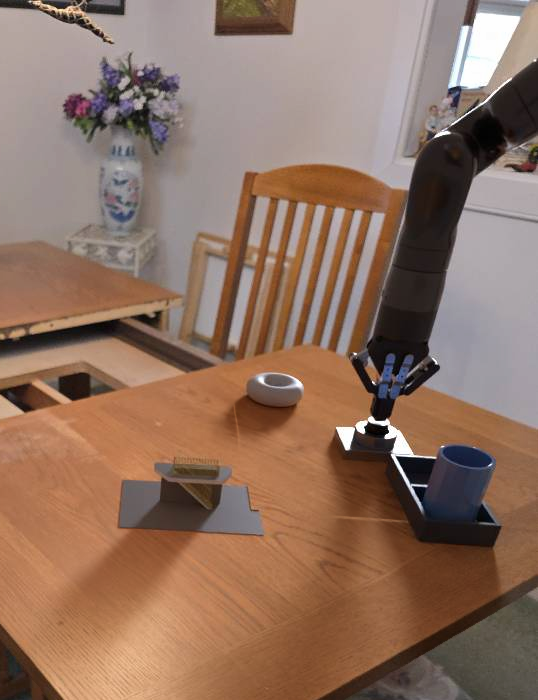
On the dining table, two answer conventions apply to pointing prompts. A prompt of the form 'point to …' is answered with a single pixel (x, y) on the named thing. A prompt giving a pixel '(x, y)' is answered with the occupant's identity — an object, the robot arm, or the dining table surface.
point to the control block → (369, 444)
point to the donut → (275, 389)
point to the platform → (189, 500)
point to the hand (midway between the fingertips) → (378, 419)
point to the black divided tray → (410, 488)
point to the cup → (458, 483)
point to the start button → (377, 426)
